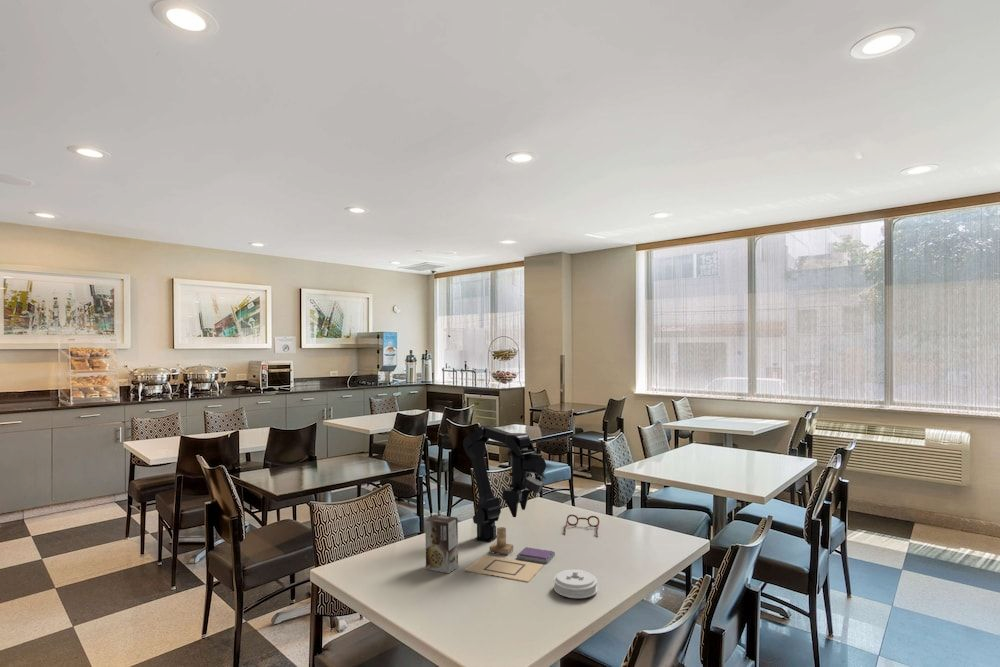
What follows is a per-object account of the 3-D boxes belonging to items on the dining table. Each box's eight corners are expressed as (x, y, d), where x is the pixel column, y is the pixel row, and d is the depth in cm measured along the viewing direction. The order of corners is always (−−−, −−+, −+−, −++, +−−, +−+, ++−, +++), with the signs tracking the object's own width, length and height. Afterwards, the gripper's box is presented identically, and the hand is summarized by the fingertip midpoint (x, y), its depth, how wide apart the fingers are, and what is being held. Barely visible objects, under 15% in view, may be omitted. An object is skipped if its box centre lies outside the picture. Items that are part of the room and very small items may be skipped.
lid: (583, 579, 165) (583, 563, 165) (605, 597, 153) (605, 579, 153) (546, 586, 160) (546, 569, 161) (566, 604, 149) (566, 586, 149)
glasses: (599, 527, 215) (599, 515, 215) (598, 538, 202) (597, 525, 202) (567, 525, 218) (566, 513, 218) (563, 536, 205) (563, 523, 205)
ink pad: (516, 558, 182) (516, 554, 182) (525, 550, 189) (525, 546, 189) (547, 563, 177) (547, 558, 177) (554, 555, 185) (554, 550, 185)
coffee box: (458, 566, 175) (458, 517, 176) (449, 574, 170) (448, 522, 170) (435, 562, 179) (435, 514, 180) (424, 569, 173) (424, 519, 174)
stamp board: (464, 570, 172) (464, 569, 172) (484, 555, 185) (484, 554, 185) (528, 582, 163) (528, 580, 163) (543, 565, 176) (543, 564, 176)
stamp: (489, 552, 188) (489, 529, 188) (495, 548, 192) (495, 525, 193) (507, 555, 185) (507, 531, 185) (513, 551, 189) (513, 527, 190)
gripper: (532, 477, 179) (531, 524, 178) (548, 466, 196) (548, 508, 196) (501, 474, 183) (501, 520, 183) (520, 463, 200) (520, 505, 200)
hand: (519, 513), depth 190 cm, fingers open, 9 cm apart
